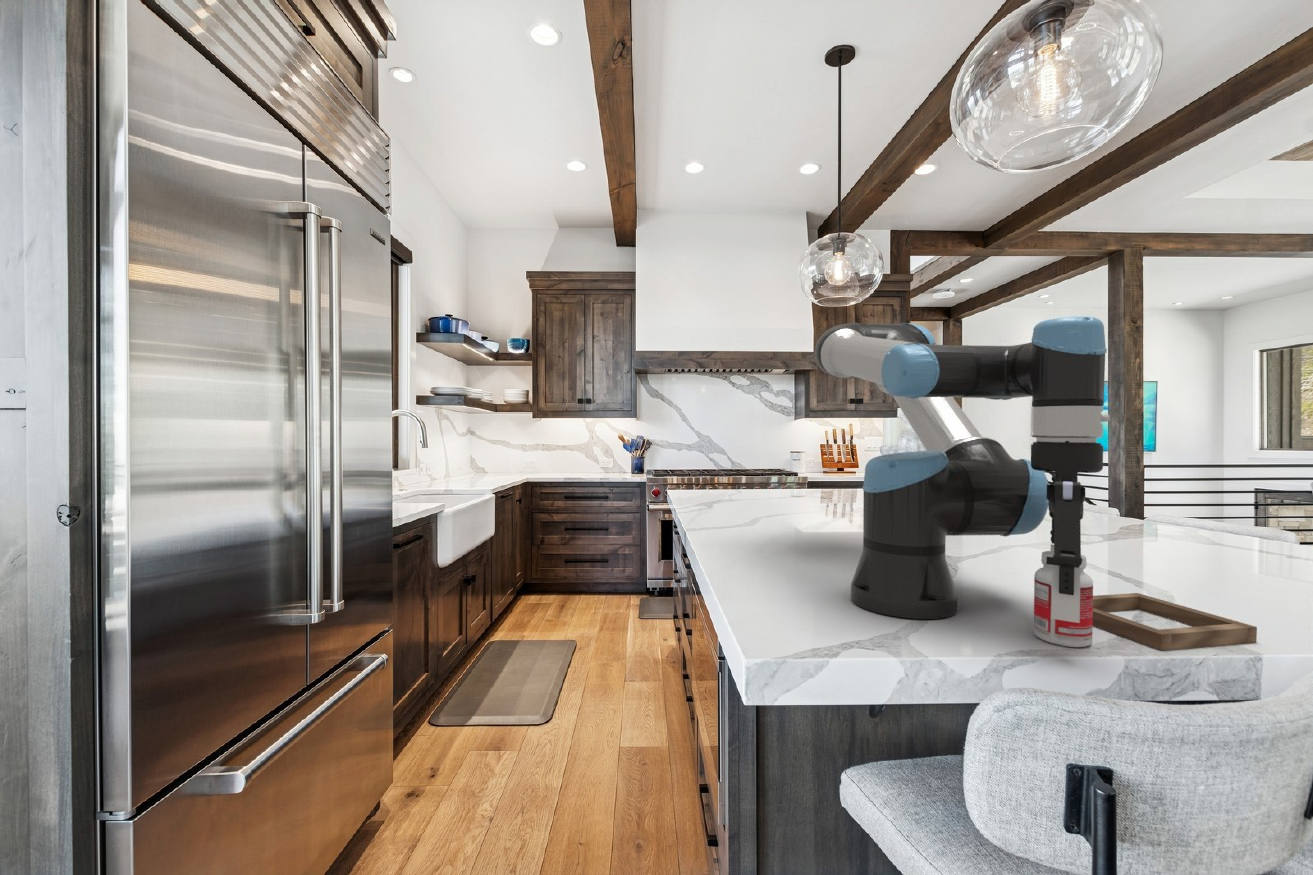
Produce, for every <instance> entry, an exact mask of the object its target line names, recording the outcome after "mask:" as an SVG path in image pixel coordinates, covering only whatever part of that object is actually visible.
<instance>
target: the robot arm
mask: <svg viewBox="0 0 1313 875" xmlns="http://www.w3.org/2000/svg"><path fill="white" fill-rule="evenodd" d="M1105 338H1106V335H1105V325H1104V323H1103V321H1102V320H1101V319H1099V318H1096V317H1092V316H1068V317H1067V316H1066V317H1058V318H1057V317H1056V318H1051V319H1046V320H1043V321H1039V322H1038V323H1037V324H1035V326H1034V327H1033V332H1032V337H1031V342H1025V343H1020V344H1013V345H967V344H965V345H964V344H963V345H955V344H954V345H953V344H952V345H949V344H936V340H935V337H934V335H933V334H932V333H931V331H930V330H929V329H928V328H926V327H925V326H923V325H920V324H913V323H910V322H909V323H907V322H899V323H877V322H876V323H875V322H874V323H872V322H869V323H868V322H867V323H866V322H865V323H862V322H848V323H843V324H841V323H840V324H839V325H835V326H833V327H831V328H829V329H827V330H826V331H825V332H824V333H822V335H820V337H819V339H817V342H816V344H815V347H814V358H815V362H816V364H817V366H818V367H819V369H821V370H822V372H824V373H826V374H827V375H830V376H832V377H836V378H840V379H842V378H843V379H852V380H853V379H855V380H856V379H857V380H858V379H859V380H864V381H869V382H872V383H875V384H876V386H877V388H878V389H879V391H881V392H883V393H885V394H887V395H891V396H892V397H893V399H894V400H895V402H896V403H897V405H898V407H899V408H900V410H901V412H902V413H903V415H904V416H905V419H907V421H908V423H909V425H910V426H911V428H912V429H913V431H914V433H915V435H916V437H917V438H918V439H919V441H920V442H921V445H923V448H924V449H925V450H919V451H904V452H894V453H888V454H883V455H878V456H875V457H872V458H871V459H869V460H868V462H867V463H866V464H865V468H864V478H863V484H862V490H863V524H862V525H863V528H862V529H863V532H862V533H863V537H862V543H863V544H862V545H863V546H862V552H861V556H860V559H859V561H858V564H857V566H856V570H855V573H854V574H853V578H852V580H851V583H850V600H851V601H852V602H853V603H854V604H856V605H857V606H858V607H861V608H862V609H865V610H868V611H871V612H875V613H876V614H877V613H878V614H883V615H884V616H885V615H886V616H891V617H896V618H898V617H899V618H903V619H914V620H915V619H917V620H918V619H919V620H934V619H935V620H938V619H945V618H950V617H952V616H954V615H956V614H957V613H958V607H959V605H958V604H959V599H958V598H959V597H958V592H957V590H956V585H955V583H954V580H953V577H952V574H951V571H950V568H949V565H948V562H947V558H946V540H947V539H946V538H947V536H948V537H949V536H953V537H954V536H956V537H957V536H962V537H963V536H1001V537H1004V538H1005V537H1009V536H1015V535H1025V534H1028V533H1031V532H1034V530H1036V529H1037V528H1038V527H1039V526H1040V524H1042V522H1043V521H1044V519H1045V516H1046V515H1047V513H1048V515H1049V517H1050V518H1051V529H1050V531H1049V532H1050V533H1049V534H1050V535H1051V536H1050V541H1051V544H1050V551H1054V555H1053V557H1047V559H1046V564H1049V565H1052V609H1051V619H1057V620H1063V621H1070V622H1076V623H1080V569H1081V568H1080V565H1081V562H1082V558H1081V555H1082V548H1081V544H1082V543H1081V539H1082V538H1081V535H1082V534H1081V533H1082V532H1081V520H1082V519H1083V518H1084V502H1085V501H1086V487H1085V486H1084V485H1082V484H1081V482H1080V481H1078V478H1079V477H1078V473H1083V474H1084V473H1085V474H1092V473H1093V474H1095V473H1099V472H1101V471H1103V468H1104V445H1102V443H1101V442H1097V439H1101V438H1103V436H1104V425H1103V423H1104V422H1105V423H1106V422H1109V421H1110V420H1111V416H1110V415H1109V413H1102V412H1103V411H1104V405H1105V401H1104V400H1105V371H1106V370H1105V369H1106V365H1105V364H1106V353H1107V351H1108V350H1107V348H1106V347H1107V346H1106V339H1105ZM1029 397H1031V398H1032V399H1031V407H1030V408H1031V409H1030V411H1031V412H1030V436H1031V437H1032V438H1035V439H1036V441H1033V442H1032V444H1030V460H1028V459H1025V458H1019V459H1014V458H1013V457H1012V456H1011V455H1010V454H1009V453H1008V451H1007V450H1006V449H1005V448H1004V447H1003V445H1002V444H1001V443H1000V442H999V441H997V440H996V439H993V438H990V437H987V436H986V437H984V436H982V435H981V433H980V432H979V430H978V429H977V427H976V426H975V425H974V424H973V423H972V421H971V420H970V418H969V417H968V416H967V415H966V413H965V412H964V410H963V409H962V408H961V407H960V405H959V404H958V401H956V399H955V398H962V399H963V398H967V399H968V398H969V399H971V398H973V399H988V400H994V401H995V400H1003V401H1007V400H1012V399H1018V398H1029ZM1102 422H1103V423H1102ZM1045 472H1054V474H1052V476H1051V482H1052V484H1049V480H1048V478H1047V477H1048V476H1046V473H1045Z"/></svg>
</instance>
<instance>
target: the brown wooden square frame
mask: <svg viewBox="0 0 1313 875" xmlns="http://www.w3.org/2000/svg"><path fill="white" fill-rule="evenodd" d="M1139 610H1140V611H1142V612H1146V613H1149V614H1153V615H1154V616H1155V615H1156V616H1158V617H1161V618H1164V619H1168V618H1170V619H1169V620H1171V619H1172V621H1174V620H1176V621H1175V622H1177V621H1179V622H1178V623H1180V622H1181V624H1184V623H1185V624H1184V625H1187V624H1188V625H1187V627H1185V626H1184V627H1177V628H1176V627H1175V628H1173V627H1172V628H1163V629H1162V628H1161V629H1159V628H1156V627H1153V626H1149V625H1147V624H1144V623H1140V622H1137V621H1134V620H1131V619H1128V618H1125V617H1122V616H1119V615H1116V614H1113V613H1111V612H1122V611H1123V612H1124V611H1125V612H1126V611H1139ZM1095 626H1096V628H1098V627H1100V628H1102V629H1101V630H1103V629H1104V630H1103V631H1107V632H1108V633H1112V634H1115V635H1117V636H1120V637H1122V638H1125V639H1128V640H1130V641H1133V642H1136V643H1139V644H1142V645H1144V646H1147V647H1150V646H1151V647H1150V648H1152V647H1153V648H1152V649H1155V648H1156V650H1158V649H1159V650H1158V651H1160V650H1165V651H1173V650H1175V649H1176V650H1186V649H1196V648H1198V649H1199V648H1208V647H1219V646H1233V644H1234V645H1242V644H1255V643H1257V642H1258V641H1257V638H1258V637H1257V636H1258V634H1257V633H1258V632H1257V631H1258V627H1257V626H1255V625H1251V624H1249V623H1248V624H1247V623H1246V622H1245V623H1244V622H1242V621H1241V622H1240V621H1237V620H1233V619H1230V618H1227V617H1224V616H1223V617H1222V616H1219V615H1216V614H1212V613H1210V612H1209V613H1208V612H1206V611H1203V610H1198V609H1195V608H1192V607H1188V606H1185V605H1180V604H1177V603H1174V602H1171V601H1167V600H1163V599H1160V598H1156V597H1152V596H1150V595H1146V594H1142V593H1139V592H1132V593H1117V594H1116V593H1115V594H1102V595H1101V594H1099V595H1093V626H1092V627H1095ZM1100 628H1099V629H1100ZM1176 650H1175V651H1176Z"/></svg>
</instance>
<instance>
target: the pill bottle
mask: <svg viewBox="0 0 1313 875" xmlns="http://www.w3.org/2000/svg"><path fill="white" fill-rule="evenodd" d="M1053 555H1054V551H1051V550H1047V551H1045V550H1044V551H1042V552H1041V564H1042V565H1043V566H1042V567H1040V568H1038V569H1037V570H1036V571H1035V572H1034V579H1033V581H1034V583H1033V584H1034V585H1033V586H1034V587H1033V588H1034V589H1033V592H1034V594H1033V633H1034V635H1035V636H1036V637H1037V638H1038V639H1040V640H1042V641H1045V642H1047V643H1049V644H1050V643H1051V644H1053V645H1057V646H1062V647H1067V648H1085V647H1088V646H1090V645H1091V644H1092V642H1093V626H1092V625H1093V596H1094V582H1093V578H1092V577H1091V576H1090V575H1089V574H1088V573H1086V572H1085V571H1084V569H1085V570H1086V567H1087V566H1088V565H1087V557H1086V555H1084V554H1081V558H1082V562H1081V565H1080V568H1081V569H1080V623H1076V622H1070V621H1063V620H1057V619H1051V609H1052V565H1049V564H1046V559H1047V557H1053Z"/></svg>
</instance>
